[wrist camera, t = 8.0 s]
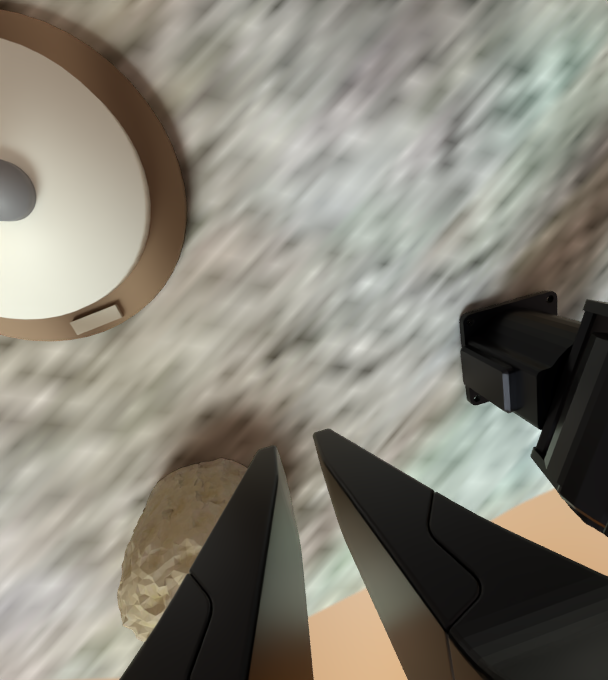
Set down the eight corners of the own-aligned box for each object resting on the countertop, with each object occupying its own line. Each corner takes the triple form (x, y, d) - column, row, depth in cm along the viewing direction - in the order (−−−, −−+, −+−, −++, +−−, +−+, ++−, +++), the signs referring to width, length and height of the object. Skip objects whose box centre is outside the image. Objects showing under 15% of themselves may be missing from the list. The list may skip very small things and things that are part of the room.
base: (95, -30, 15) (84, -50, 14) (231, 279, 19) (230, 281, 18) (-233, 84, 14) (-270, 72, 13) (-14, 376, 19) (-29, 384, 18)
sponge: (205, 423, 26) (68, 494, 17) (322, 478, 23) (227, 605, 14) (189, 525, 28) (60, 636, 19) (293, 591, 25) (195, 764, 16)
